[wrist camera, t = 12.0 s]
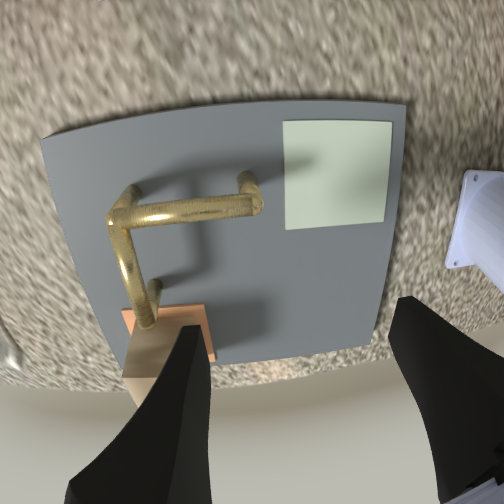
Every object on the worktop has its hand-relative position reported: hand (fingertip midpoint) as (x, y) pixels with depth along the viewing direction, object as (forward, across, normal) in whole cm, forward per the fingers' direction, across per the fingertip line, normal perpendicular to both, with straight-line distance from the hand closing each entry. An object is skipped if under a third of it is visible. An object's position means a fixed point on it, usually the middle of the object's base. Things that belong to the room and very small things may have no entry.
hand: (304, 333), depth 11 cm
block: (+8, +7, +7) cm, 13 cm away
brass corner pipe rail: (+8, +4, 0) cm, 9 cm away
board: (+9, +2, +2) cm, 10 cm away
